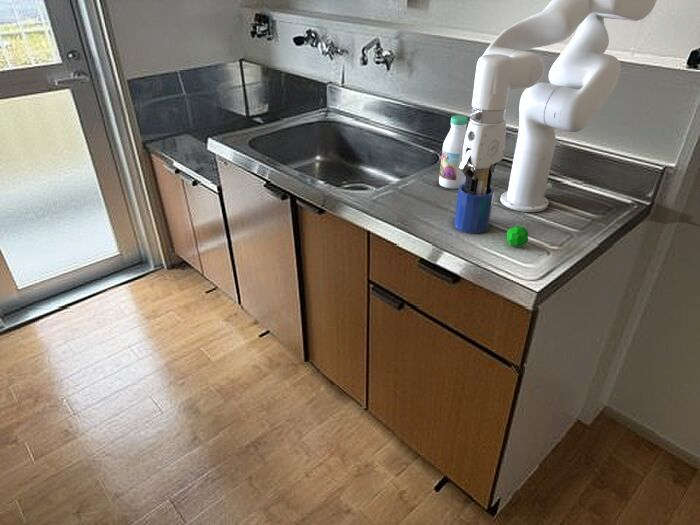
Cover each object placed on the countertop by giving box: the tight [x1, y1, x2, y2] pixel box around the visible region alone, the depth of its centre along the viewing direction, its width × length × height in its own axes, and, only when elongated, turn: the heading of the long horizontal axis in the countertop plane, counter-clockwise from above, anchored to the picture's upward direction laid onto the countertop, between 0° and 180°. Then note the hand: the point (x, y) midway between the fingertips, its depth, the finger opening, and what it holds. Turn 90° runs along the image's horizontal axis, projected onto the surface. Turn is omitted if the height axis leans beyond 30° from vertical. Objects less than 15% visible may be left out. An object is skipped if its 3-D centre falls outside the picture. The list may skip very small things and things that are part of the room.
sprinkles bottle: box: [468, 165, 491, 195], centre depth 119 cm, size 5×5×14 cm
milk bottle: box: [438, 114, 469, 190], centre depth 142 cm, size 8×8×20 cm
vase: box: [453, 183, 495, 235], centre depth 122 cm, size 8×8×10 cm
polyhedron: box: [506, 225, 529, 248], centre depth 115 cm, size 5×5×5 cm
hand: (477, 189), depth 120 cm, fingers closed on sprinkles bottle, 4 cm apart
